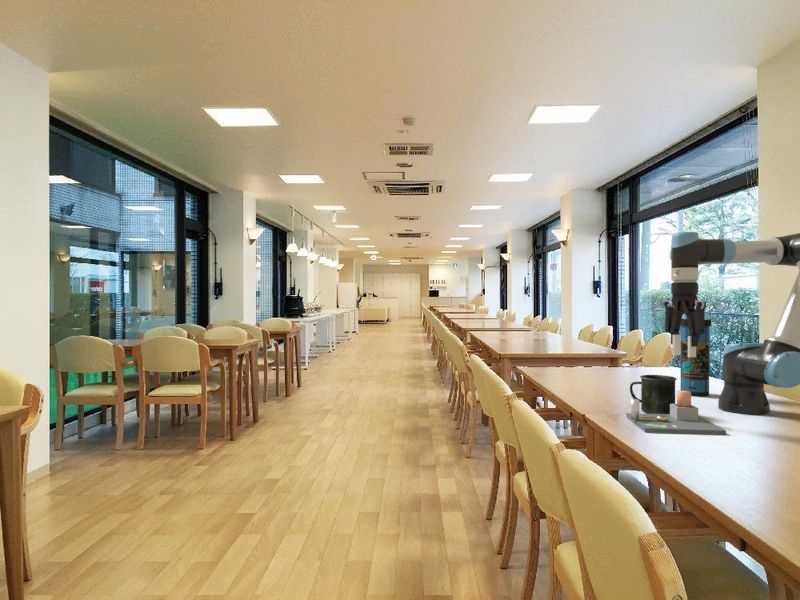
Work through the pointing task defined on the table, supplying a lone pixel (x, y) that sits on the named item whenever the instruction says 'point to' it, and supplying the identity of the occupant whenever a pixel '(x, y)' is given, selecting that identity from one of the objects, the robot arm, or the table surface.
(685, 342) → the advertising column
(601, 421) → the table surface
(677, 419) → the tuner board
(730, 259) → the robot arm
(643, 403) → the mug
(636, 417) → the brass ball-ended crank
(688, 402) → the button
